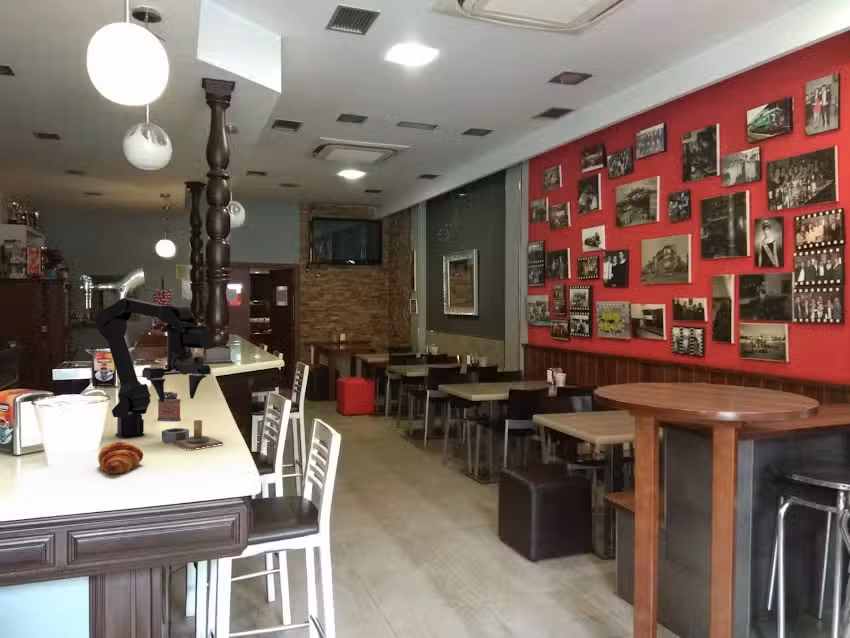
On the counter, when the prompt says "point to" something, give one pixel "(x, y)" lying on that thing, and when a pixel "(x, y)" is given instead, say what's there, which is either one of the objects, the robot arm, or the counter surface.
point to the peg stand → (197, 439)
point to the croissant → (119, 457)
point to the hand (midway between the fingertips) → (177, 400)
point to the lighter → (169, 407)
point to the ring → (174, 435)
